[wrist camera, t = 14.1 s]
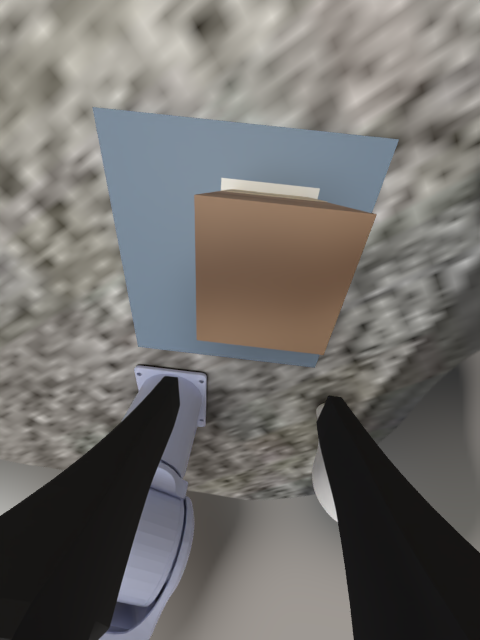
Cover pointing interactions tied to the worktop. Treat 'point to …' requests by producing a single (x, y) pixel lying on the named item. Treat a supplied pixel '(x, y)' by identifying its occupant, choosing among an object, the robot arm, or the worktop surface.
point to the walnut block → (273, 268)
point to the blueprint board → (204, 177)
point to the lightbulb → (322, 480)
